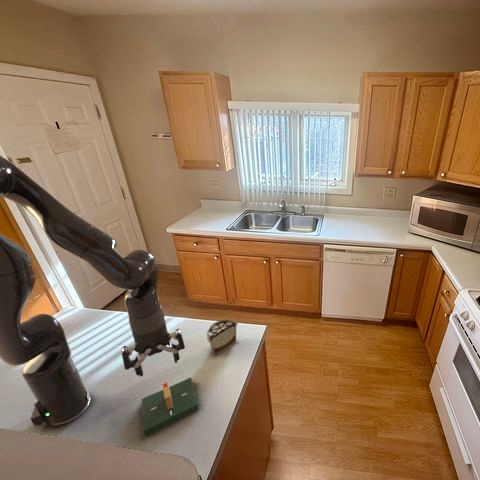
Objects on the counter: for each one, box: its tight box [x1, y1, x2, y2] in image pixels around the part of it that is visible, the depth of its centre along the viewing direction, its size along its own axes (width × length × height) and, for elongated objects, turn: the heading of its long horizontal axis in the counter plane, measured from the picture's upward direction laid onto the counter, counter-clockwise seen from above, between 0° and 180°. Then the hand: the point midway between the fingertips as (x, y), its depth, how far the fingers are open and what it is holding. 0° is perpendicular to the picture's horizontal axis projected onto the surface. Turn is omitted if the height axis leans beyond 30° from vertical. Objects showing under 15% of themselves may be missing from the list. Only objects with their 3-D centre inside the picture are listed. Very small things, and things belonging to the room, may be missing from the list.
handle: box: [162, 381, 173, 410], centre depth 77 cm, size 6×1×5 cm, turn 35°
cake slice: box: [206, 318, 238, 357], centre depth 100 cm, size 12×6×10 cm, turn 141°
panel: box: [141, 377, 199, 437], centre depth 78 cm, size 14×11×3 cm
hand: (159, 367), depth 73 cm, fingers open, 8 cm apart
